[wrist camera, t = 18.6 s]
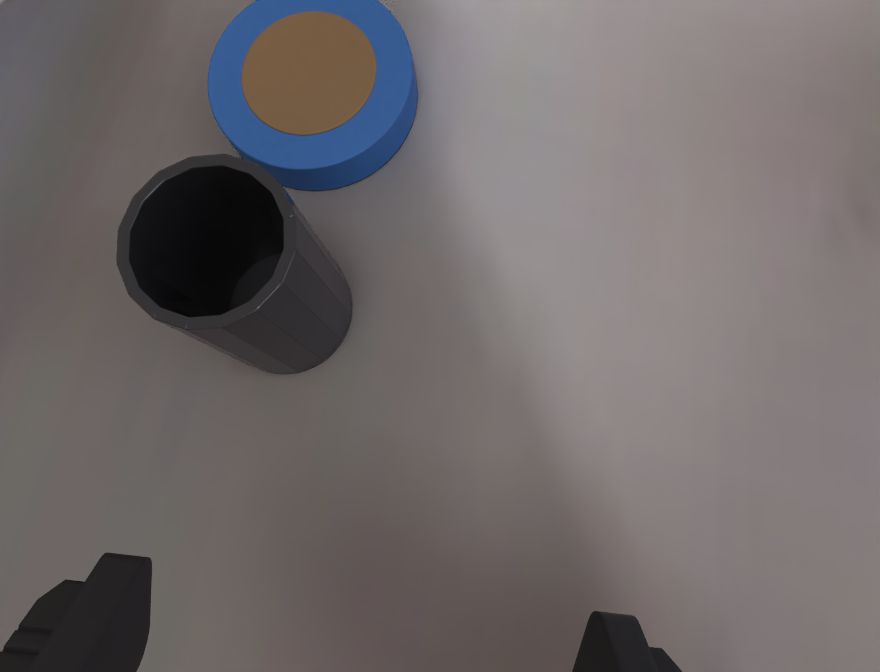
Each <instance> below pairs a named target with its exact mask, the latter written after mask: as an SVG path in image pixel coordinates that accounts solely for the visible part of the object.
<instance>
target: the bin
mask: <svg viewBox="0 0 880 672" xmlns="http://www.w3.org/2000/svg"><path fill="white" fill-rule="evenodd" d="M117 266H118V269H119V271H120V274H121V277H122V279H123V282H124V284H125V287H126V290H127V292H128V294H129V296H130V297H131V298H132V299H133V300H134V301H135V302H136V303H137V304H138V305H139V306H140V307H141V308H142V309H143V310H144V311H146V312H147V313H148V314H149V315H150V316H151V317H152V318H153V319H155V320H157V321H159V322H161V323H163V324H165V325H167V326H169V327H171V328H173V329H175V330H178V331H180V332H182V333H184V334H186V335H188V336H190V337H192V338H194V339H196V340H198V341H200V342H202V343H204V344H206V345H208V346H210V347H212V348H215V349H217V350H219V351H221V352H223V353H225V354H227V355H229V356H231V357H233V358H235V359H237V360H239V361H241V362H243V363H245V364H247V365H250V366H253V367H255V368H258V369H260V370H263V371H266V372H270V373H275V374H293V373H299V372H303V371H306V370H308V369H311V368H313V367H315V366H317V365H319V364H320V363H322V362H323V361H325V360H326V359H327V358H329V357H330V356H331V355H332V354H333V353H334V352H335V351H336V349H337V348H338V347H339V346H340V344H341V343H342V341H343V339H344V338H345V336H346V333H347V331H348V329H349V325H350V322H351V317H352V297H351V292H350V288H349V286H348V283H347V281H346V279H345V277H344V275H343V274H342V272H341V270H340V268H339V266H338V265H337V263H336V262H335V260H334V259H333V258H332V256H331V255H330V253H329V252H328V250H327V249H326V248H325V246H324V245H323V243H322V242H321V240H320V239H319V238H318V236H317V235H316V233H315V232H314V230H313V229H312V228H311V226H310V225H309V223H308V222H307V220H306V219H305V218H304V216H303V215H302V213H301V212H300V210H299V209H298V208H297V206H296V205H295V203H294V202H293V200H292V199H291V198H290V196H289V195H288V193H287V192H286V190H285V189H284V188H283V186H282V185H281V184H280V183H279V182H278V181H277V180H276V179H274V178H273V177H272V176H271V175H270V174H269V173H267V172H266V171H265V170H264V169H263V168H262V167H260V166H259V165H258V164H256V163H253V162H250V161H247V160H243V159H240V158H237V157H234V156H230V155H227V154H217V155H205V156H193V157H188V158H186V159H184V160H182V161H180V162H178V163H176V164H173V165H171V166H169V167H167V168H165V169H163V170H161V171H159V172H158V173H156V174H155V175H154V176H153V177H152V178H151V179H150V180H149V181H148V182H147V183H146V184H145V185H144V186H143V187H142V188H141V189H140V190H139V191H138V192H137V193H136V194H135V195H134V197H133V198H132V200H131V202H130V204H129V206H128V208H127V211H126V213H125V215H124V217H123V219H122V222H121V224H120V226H119V230H118V240H117Z"/></svg>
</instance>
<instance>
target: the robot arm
mask: <svg viewBox="0 0 880 672" xmlns="http://www.w3.org/2000/svg"><path fill="white" fill-rule="evenodd" d="M151 579H152V562H151V559H150V558H149V557H141V556H132V555H124V554H115V553H105V554H104V555H103V556H102V557H101V558H100V559H99V561H98V562H97V564H96V566H95V567H94V569H93V570H92V572H91V573H90V575H89V576H88V578H87V579H86V581H85V582H82V581H73V580H64V581H63V582H61V583H60V584H59V585H57V586H56V587H54V588H53V589H52V590H50V591H49V592H47V593H46V594H45V595H43V596H42V597H41V598H39V599H38V600H37V601H36V602H35V604H34V605H33V606H32V608H31V609H30V611H29V612H28V613H27V615H26V616H25V618H24V619H23V620H22V622H21V623H20V625H19V628H18V630H15V632H14V633H13V634H12V636H11V637H10V639H9V640H8V641H7V643H6V644H5V646H4V649H3V651H2V652H0V672H136V671H137V669H138V667H139V665H140V662H141V660H142V657H143V654H144V651H145V648H146V644H147V640H148V635H149V628H150V607H151ZM572 672H682V671H681V670H680V669H679V667H678V666H677V665H676V664H675V663H674V662H673V661H672V659H671V658H670V657H669V656H668V655H667V654H666V653H665V651H664V650H663V649H662V648H653V647H649V646H648V644H647V641H646V639H645V636H644V634H643V631H642V629H641V626H640V624H639V622H638V620H637V619H636V617H635V616H632V615H625V614H616V613H608V612H599V611H594V612H592V614H591V615H590V617H589V620H588V623H587V626H586V629H585V632H584V636H583V639H582V642H581V645H580V648H579V652H578V655H577V658H576V661H575V664H574V668H573V671H572Z"/></svg>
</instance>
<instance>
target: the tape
mask: <svg viewBox="0 0 880 672" xmlns="http://www.w3.org/2000/svg"><path fill="white" fill-rule="evenodd" d="M208 96H209V100H210V105H211V109H212V112H213V114H214V117H215V119H216V121H217V123H218V125H219V127H220V129H221V130H222V131H223V133H224V134H225V135H226V137H227V138H228V139H229V141H230V142H231V143H232V145H233V146H234V147H235V149H236V150H237V151H238V152H239V154H240V155H241V156H242V158H243V159H244V160H247V161H250V162H253V163H256V164H258V165H259V166H260V167H262V168H263V169H264V170H265V171H266V172H267V173H269V174H270V175H271V176H272V177H273V178H274V179H276V180H277V181H278V182H279V183H280V184H281V185H283V186H286V187H290V188H294V189H300V190H309V191H314V190H329V189H336V188H339V187H343V186H347V185H350V184H352V183H355V182H357V181H360V180H362V179H363V178H365V177H367V176H369V175H371V174H372V173H374V172H375V171H376V170H378V169H379V168H381V167H382V166H383V165H384V164H385V163H386V162H387V161H388V160H390V159H391V158H392V156H393V155H394V154H395V153H396V152H397V150H398V149H399V148H400V147H401V145H402V143H403V142H404V140H405V139H406V137H407V135H408V133H409V131H410V129H411V127H412V124H413V120H414V117H415V113H416V107H417V83H416V77H415V71H414V66H413V60H412V55H411V50H410V47H409V43H408V40H407V38H406V35H405V33H404V31H403V29H402V27H401V26H400V24H399V23H398V21H397V20H396V18H395V17H394V16H393V15H392V14H391V13H390V11H389V10H388V9H386V8H385V7H384V6H383V5H382V4H381V3H380V2H378V1H377V0H257V1H255V2H254V3H252V4H251V5H249V6H248V7H247V8H245V9H244V10H243V11H242V12H241V13H240V14H239V15H238V16H237V17H236V18H235V19H234V20H233V21H232V22H231V23H230V24H229V26H228V27H227V29H226V30H225V31H224V33H223V34H222V36H221V38H220V40H219V42H218V43H217V45H216V47H215V50H214V53H213V55H212V58H211V63H210V67H209V73H208Z"/></svg>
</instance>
